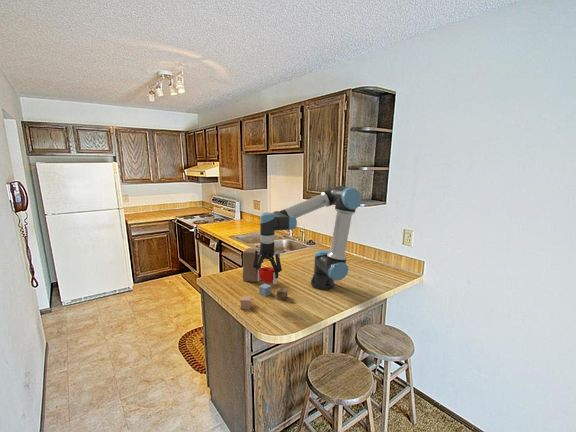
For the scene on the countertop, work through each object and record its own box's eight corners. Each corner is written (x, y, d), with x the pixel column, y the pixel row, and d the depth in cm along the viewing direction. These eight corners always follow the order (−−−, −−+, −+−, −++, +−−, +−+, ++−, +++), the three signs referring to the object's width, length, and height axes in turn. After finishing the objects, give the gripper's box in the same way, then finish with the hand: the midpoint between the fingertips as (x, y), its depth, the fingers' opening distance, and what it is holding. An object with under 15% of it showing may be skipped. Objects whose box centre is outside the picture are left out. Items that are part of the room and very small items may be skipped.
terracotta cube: (251, 304, 150) (251, 295, 149) (250, 309, 145) (250, 300, 144) (241, 304, 150) (241, 295, 149) (240, 308, 145) (240, 300, 144)
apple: (256, 284, 147) (256, 270, 145) (263, 277, 155) (263, 264, 153) (271, 286, 144) (271, 272, 142) (278, 280, 152) (278, 267, 150)
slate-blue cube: (271, 293, 163) (271, 285, 162) (265, 296, 159) (265, 288, 158) (264, 291, 166) (265, 283, 165) (259, 293, 162) (259, 286, 161)
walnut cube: (287, 296, 160) (287, 288, 159) (285, 300, 155) (285, 292, 154) (278, 295, 161) (279, 287, 160) (276, 299, 156) (276, 291, 156)
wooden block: (256, 282, 177) (257, 253, 174) (242, 281, 179) (242, 251, 176) (261, 276, 187) (261, 248, 183) (247, 275, 189) (247, 247, 185)
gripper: (288, 242, 144) (288, 282, 148) (253, 237, 153) (253, 275, 157) (282, 246, 137) (282, 288, 141) (246, 241, 146) (246, 280, 150)
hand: (267, 281), depth 149 cm, fingers closed on apple, 9 cm apart
